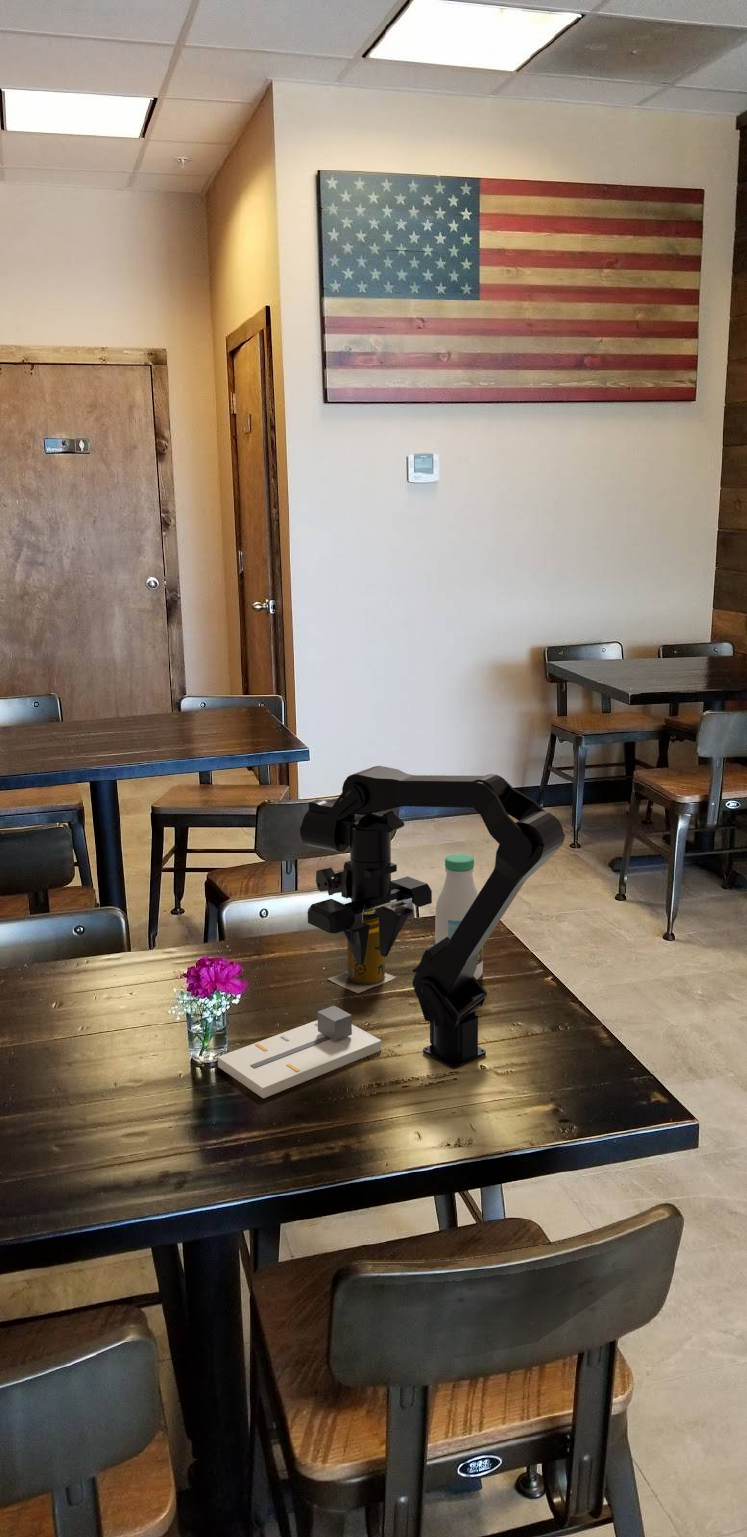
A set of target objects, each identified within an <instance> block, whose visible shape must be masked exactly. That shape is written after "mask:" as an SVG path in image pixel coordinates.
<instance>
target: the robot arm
mask: <svg viewBox="0 0 747 1537" xmlns="http://www.w3.org/2000/svg"><path fill="white" fill-rule="evenodd" d="M341 788H342V789H341V790H342V792H341V793H340V795H339V796H338V797H337V799H336V800H335V802H334V803H333V802H329V801H326V800H324V799H318V798H317V799H315V800H312V801H309V802H308V810H307V811H306V813H305V815H304V816H303V820H302V822H301V826H300V827H299V834H300V837H301V839H300V840H302V842H303V844H305V845H306V846H309V847H314V848H319V849H325V850H327V851H328V850H329V851H335V852H339V853H340V852H344V851H346V850H347V849H348V848H349V860H348V861H347V860H346V861H345V862H344V864H343V868H342V869H339V870H336V871H334V869H333V868H332V867H331V866H330V867H325V868H320V869H317V870H316V873H315V874H316V875H315V883H316V887H317V888H316V889H317V891H319V892H321V893H322V892H327V894H328V896H333V895H334V894H338V893H339V894H340V893H341V894H340V895H341V897H342V898H344V899H351V900H350V902H347V903H342V902H341V901H338V900H335V899H333V898H329V899H325V900H322V901H318V902H315V903H312V904H311V905H309V907H308V909H307V923H308V924H309V925H312V926H313V927H316V928H318V929H320V930H322V931H324V932H326V933H329V934H339V933H341V932H343V934H344V936H345V938H346V941H347V940H348V942H349V945H350V947H351V950H352V952H353V955H354V957H355V960H356V962H357V963H358V964H360V965H363V964H364V960H365V956H366V949H367V941H368V934H369V927H370V925H368V924H366V923H364V922H363V914H364V912H368V911H371V910H374V909H375V911H376V913H377V915H378V918H379V946H380V954H381V955H382V956H384V957H385V958H386V957H388V955H389V953H390V951H391V949H392V948H393V945H394V943H395V941H396V939H397V937H398V935H399V934H400V932H401V930H402V929H403V927H404V925H405V923H406V921H407V920H408V918H409V916H412V915H413V914H414V910H413V909H412V908H409V907H408V903H407V900H410V899H411V904H412V905H414V906H415V907H417V908H421V907H423V906H426V905H430V904H432V903H433V893H432V892H433V890H432V889H431V886H430V885H429V884H428V883H427V882H424V881H421V880H420V879H419V880H418V879H415V878H413V877H411V876H407V875H406V876H404V877H401V878H398V879H395V880H394V879H393V880H392V874H393V873H395V872H397V871H398V864H397V863H393V862H392V854H391V850H392V847H391V846H392V844H391V843H392V841H391V840H392V839H391V835H392V834H391V833H393V832H395V831H397V830H400V829H402V828H403V827H405V822H404V821H403V820H402V819H401V818H400V817H398V815H396V814H395V812H394V811H393V809H396V808H402V807H422V808H425V807H426V808H428V807H429V808H459V809H461V808H467V809H468V808H469V809H471V808H472V809H474V810H475V811H476V813H477V814H479V816H480V818H481V819H482V821H483V823H484V826H485V827H486V829H487V832H488V833H489V835H490V836H491V837H492V838H493V839H494V840H495V841H496V842H497V843H498V847H497V849H496V852H495V860H494V862H495V863H494V868H493V870H492V872H491V873H490V875H489V877H488V879H487V880H486V881H485V883H484V885H483V886H482V888H481V890H480V891H479V892H478V893H479V894H478V896H477V897H476V899H475V900H474V902H473V904H472V905H471V907H470V908H469V910H468V912H467V913H466V915H465V916H464V918H463V919H462V921H461V923H460V924H459V926H458V927H457V929H456V931H455V932H454V934H453V935H452V937H451V938H450V939H449V938H448V937H445V938H444V939H442V940H441V941H439V942H438V943H436V944H435V943H434V944H433V945H431V946H430V947H428V948H427V949H426V950H425V951H424V952H423V954H422V956H421V959H420V962H419V964H418V965H417V966H416V967H414V968H413V969H412V970H411V971H412V972H413V973H415V974H414V975H413V978H412V982H411V983H412V984H411V985H412V987H413V989H414V993H415V995H416V997H417V999H418V1003H419V1005H420V1009H421V1012H422V1016H423V1018H424V1021H426V1022H429V1043H430V1045H428V1046H425V1047H423V1048H422V1052H423V1054H425V1055H427V1056H429V1057H431V1058H433V1059H434V1060H436V1061H438V1062H440V1063H442V1064H444V1065H445V1066H447V1067H449V1068H450V1069H451V1068H452V1069H457V1068H459V1067H461V1066H463V1065H466V1064H467V1063H470V1062H472V1061H474V1060H477V1059H479V1058H481V1057H484V1056H485V1055H487V1050H486V1049H484V1048H482V1047H481V1046H479V1016H478V1015H476V1011H477V1010H478V1009H479V1008H480V1007H483V1006H484V1005H485V1002H486V1000H487V997H488V993H487V991H486V990H485V988H484V987H483V986H482V985H481V984H480V982H479V981H478V979H477V980H476V978H475V977H474V976H473V975H474V973H475V970H476V968H477V957H478V953H479V951H480V950H481V948H482V947H483V948H484V945H485V944H486V942H487V940H489V938H490V936H491V934H492V933H493V931H494V930H495V928H496V926H497V925H498V924H499V922H500V921H501V919H502V918H503V916H504V915H505V913H506V911H508V908H509V907H510V905H511V904H512V903H513V901H514V899H515V898H516V896H517V894H519V892H520V890H521V888H522V887H523V886H524V884H525V883H526V881H527V880H528V879H529V878H530V877H531V876H532V875H533V874H535V873H536V872H537V871H538V870H539V869H540V868H541V867H542V866H544V865H545V864H546V863H547V862H548V860H550V859H552V858H551V857H553V856H554V855H555V854H556V853H557V851H559V850H560V849H561V848H562V846H563V844H564V841H565V839H566V838H565V837H566V835H565V833H564V828H563V825H562V824H561V821H560V820H559V819H558V818H557V817H556V816H555V815H553V814H551V813H550V812H548V811H546V810H545V809H544V808H543V807H542V806H541V805H540V804H539V803H538V802H536V801H535V800H534V799H533V798H531V797H529V796H528V795H526V794H524V793H522V792H521V791H520V790H517V788H515V787H513V786H512V785H511V784H510V783H509V782H508V781H507V780H506V779H505V778H503V777H502V776H501V775H498V774H495V773H489V774H486V775H445V774H444V775H443V774H441V775H439V774H438V775H435V774H434V775H432V774H431V775H429V774H428V775H425V774H421V775H420V774H419V775H417V774H409V773H406V772H404V771H403V770H400V769H397V768H393V767H387V766H383V765H376V766H372V767H370V768H367V769H364V770H361V771H359V772H355V773H353V774H350V775H349V776H346V779H345V780H344V781H343V784H342V787H341ZM387 810H390V811H387ZM385 811H387V812H385ZM380 812H385V813H383V814H380ZM378 813H379V814H378ZM511 817H512V818H514V819H515V820H517V821H516V822H515V821H514V820H513V819H512V818H511Z"/></svg>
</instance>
